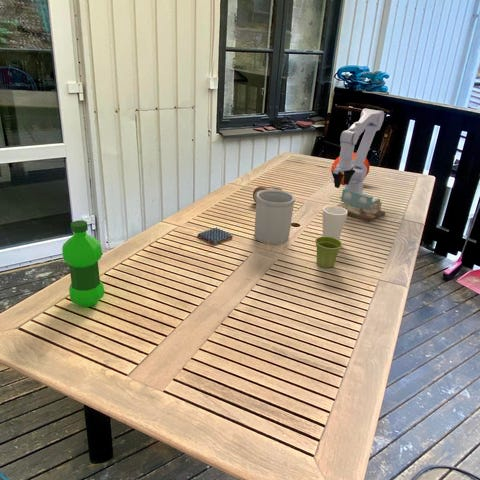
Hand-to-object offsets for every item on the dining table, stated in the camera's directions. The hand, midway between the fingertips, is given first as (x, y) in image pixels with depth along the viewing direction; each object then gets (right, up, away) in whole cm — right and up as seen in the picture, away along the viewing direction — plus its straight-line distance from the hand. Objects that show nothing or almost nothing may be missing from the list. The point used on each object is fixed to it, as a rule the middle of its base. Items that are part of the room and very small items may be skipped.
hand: (341, 185), depth 207 cm
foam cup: (-12, -26, -32) cm, 42 cm away
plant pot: (-17, -34, -49) cm, 63 cm away
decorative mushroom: (+13, +7, +40) cm, 42 cm away
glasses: (+8, -8, -3) cm, 12 cm away
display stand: (+7, -13, -3) cm, 15 cm away
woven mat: (-58, -25, -34) cm, 72 cm away
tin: (-34, -9, +1) cm, 36 cm away
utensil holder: (-35, -24, -31) cm, 53 cm away
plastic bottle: (-92, -44, -78) cm, 128 cm away
